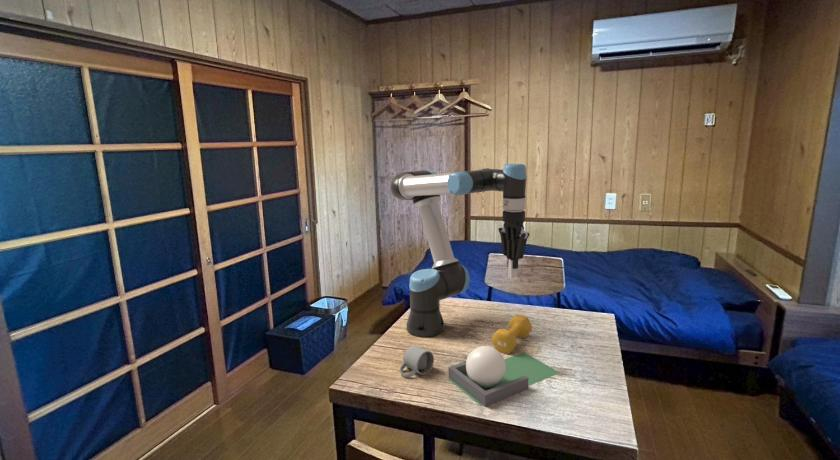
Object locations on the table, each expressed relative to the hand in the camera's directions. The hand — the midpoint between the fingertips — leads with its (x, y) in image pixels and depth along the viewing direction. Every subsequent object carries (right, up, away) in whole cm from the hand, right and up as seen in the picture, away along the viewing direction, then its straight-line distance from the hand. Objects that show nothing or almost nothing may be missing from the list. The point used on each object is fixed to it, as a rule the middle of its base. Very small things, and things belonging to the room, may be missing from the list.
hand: (512, 276), depth 149 cm
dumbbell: (+2, -26, +8) cm, 27 cm away
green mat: (-6, -30, -14) cm, 34 cm away
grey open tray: (-11, -31, -17) cm, 37 cm away
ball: (-12, -25, -20) cm, 34 cm away
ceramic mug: (-34, -30, -9) cm, 46 cm away
